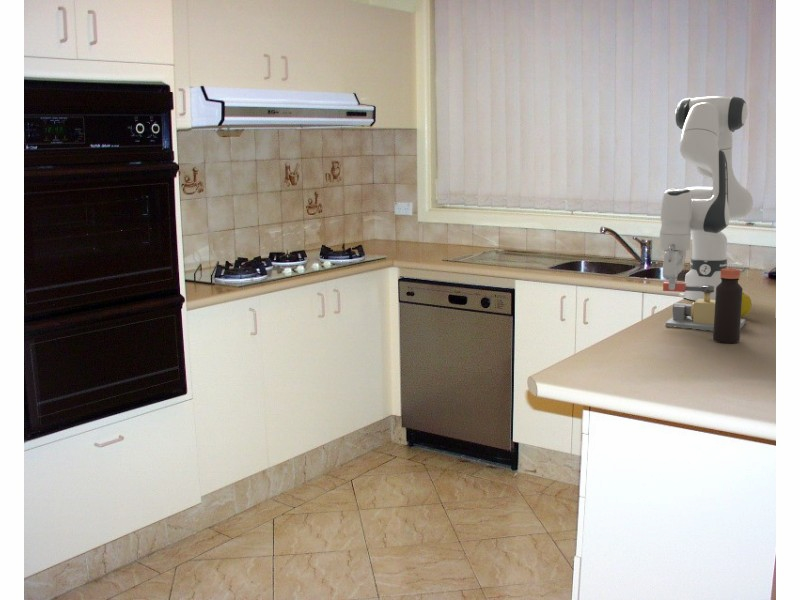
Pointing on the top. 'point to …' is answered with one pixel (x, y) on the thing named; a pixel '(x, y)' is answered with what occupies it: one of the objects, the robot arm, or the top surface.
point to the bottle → (728, 307)
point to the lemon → (745, 305)
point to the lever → (688, 288)
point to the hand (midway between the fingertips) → (672, 289)
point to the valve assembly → (695, 314)
